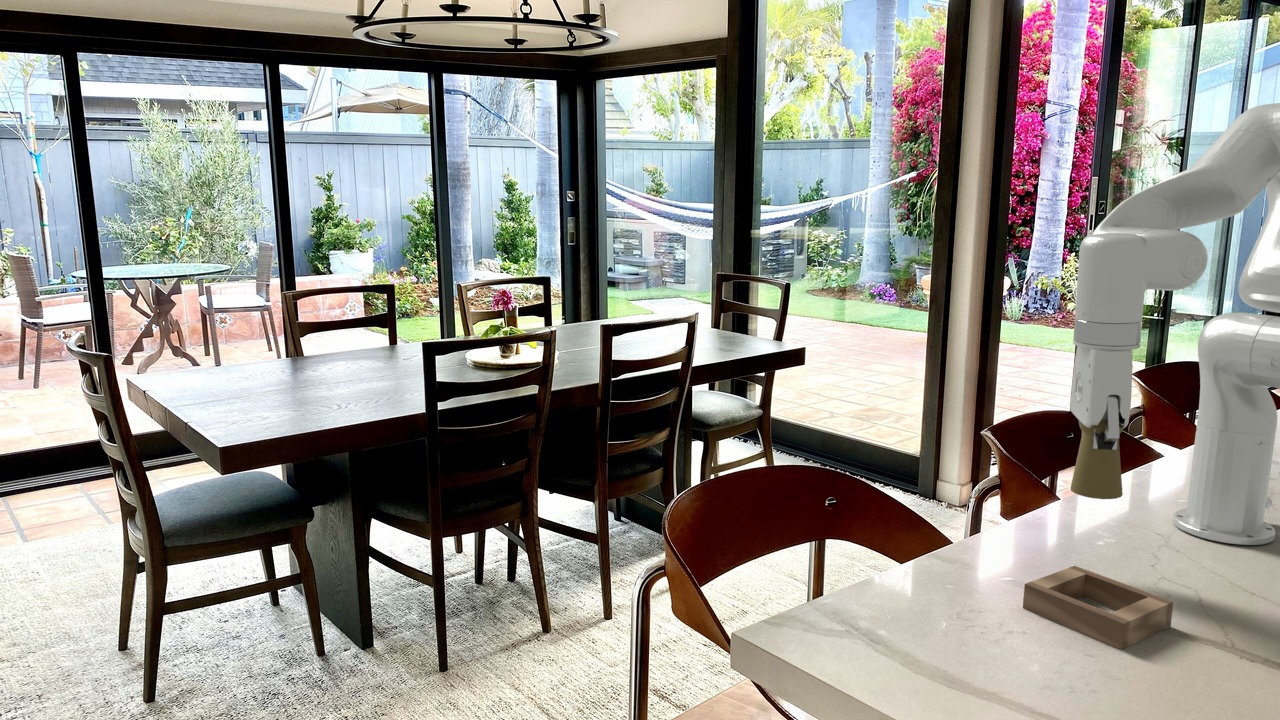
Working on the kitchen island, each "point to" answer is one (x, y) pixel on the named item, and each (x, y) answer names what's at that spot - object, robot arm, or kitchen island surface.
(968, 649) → the kitchen island surface
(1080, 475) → the tan rounded tapered piece
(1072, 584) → the walnut holder
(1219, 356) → the robot arm
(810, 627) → the kitchen island surface
